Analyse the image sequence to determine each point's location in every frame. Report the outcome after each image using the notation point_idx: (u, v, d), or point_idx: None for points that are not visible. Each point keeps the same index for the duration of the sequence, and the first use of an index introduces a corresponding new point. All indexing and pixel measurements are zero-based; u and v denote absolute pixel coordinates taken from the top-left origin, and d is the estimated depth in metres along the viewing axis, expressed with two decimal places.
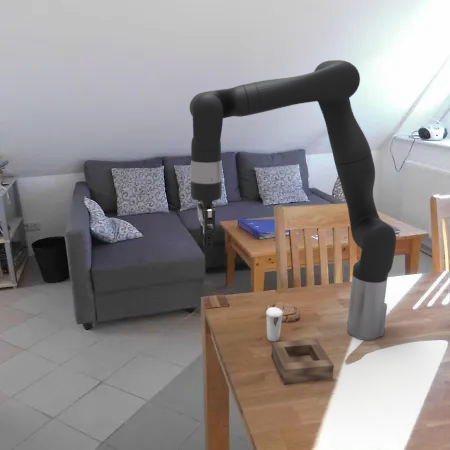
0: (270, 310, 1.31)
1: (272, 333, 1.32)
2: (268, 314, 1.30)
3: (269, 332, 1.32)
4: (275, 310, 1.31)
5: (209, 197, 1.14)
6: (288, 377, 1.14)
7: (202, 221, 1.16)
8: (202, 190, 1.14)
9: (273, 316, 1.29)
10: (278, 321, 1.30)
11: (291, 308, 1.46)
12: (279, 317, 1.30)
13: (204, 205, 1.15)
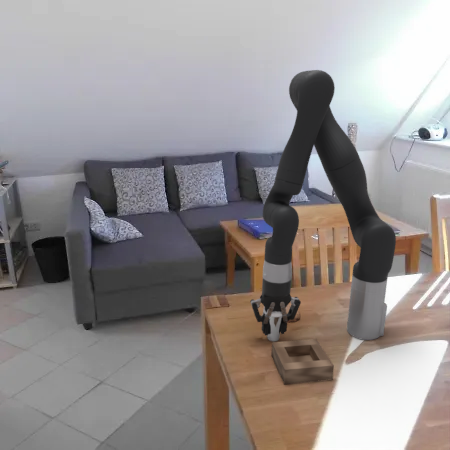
0: None
1: (272, 333, 1.32)
2: None
3: (270, 332, 1.32)
4: None
5: None
6: (288, 377, 1.14)
7: None
8: (290, 284, 1.28)
9: (273, 316, 1.29)
10: (279, 321, 1.30)
11: None
12: (280, 317, 1.30)
13: (290, 295, 1.30)
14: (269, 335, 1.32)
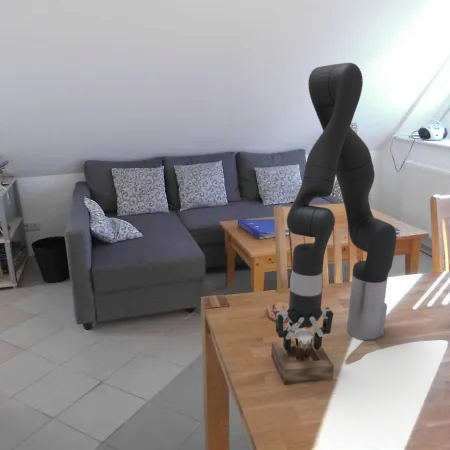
0: (299, 332, 1.18)
1: (301, 358, 1.19)
2: (297, 337, 1.17)
3: (298, 356, 1.19)
4: (304, 332, 1.18)
5: None
6: (288, 377, 1.14)
7: None
8: (321, 296, 1.14)
9: (302, 339, 1.17)
10: (308, 345, 1.17)
11: None
12: (309, 340, 1.17)
13: (320, 309, 1.16)
14: (297, 360, 1.20)
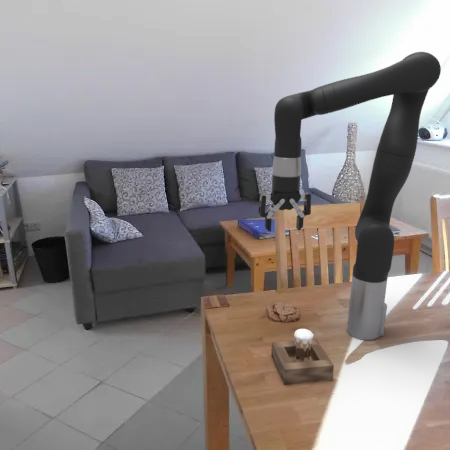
0: (299, 332, 1.18)
1: (301, 358, 1.19)
2: (297, 337, 1.17)
3: (298, 356, 1.19)
4: (305, 332, 1.18)
5: None
6: (288, 377, 1.14)
7: None
8: None
9: (303, 339, 1.17)
10: (308, 345, 1.17)
11: (291, 308, 1.46)
12: (309, 340, 1.17)
13: (299, 193, 1.32)
14: (297, 360, 1.20)
